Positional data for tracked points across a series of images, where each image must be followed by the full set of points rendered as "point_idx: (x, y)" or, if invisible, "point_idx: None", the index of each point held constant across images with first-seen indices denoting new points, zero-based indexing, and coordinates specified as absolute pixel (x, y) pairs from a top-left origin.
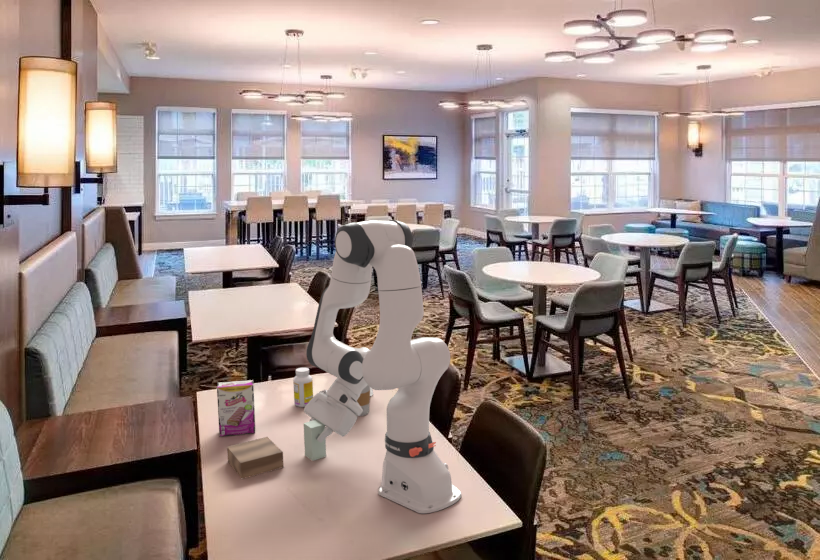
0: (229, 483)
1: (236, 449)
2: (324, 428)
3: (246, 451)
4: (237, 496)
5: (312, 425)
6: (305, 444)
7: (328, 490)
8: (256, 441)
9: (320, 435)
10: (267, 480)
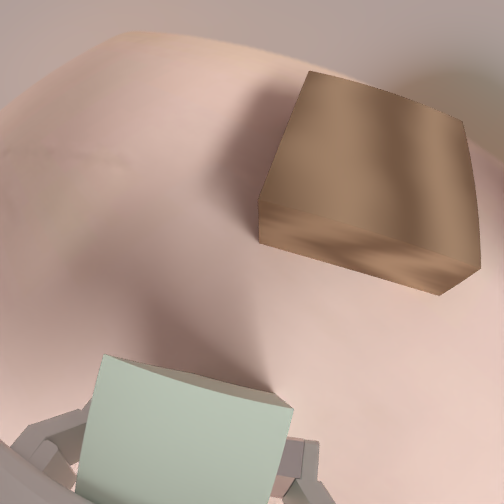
0: None
1: (426, 118)
2: (54, 452)
3: (388, 121)
4: (225, 76)
5: (143, 421)
6: (264, 393)
7: (19, 234)
8: (459, 200)
9: (87, 406)
10: (224, 149)
